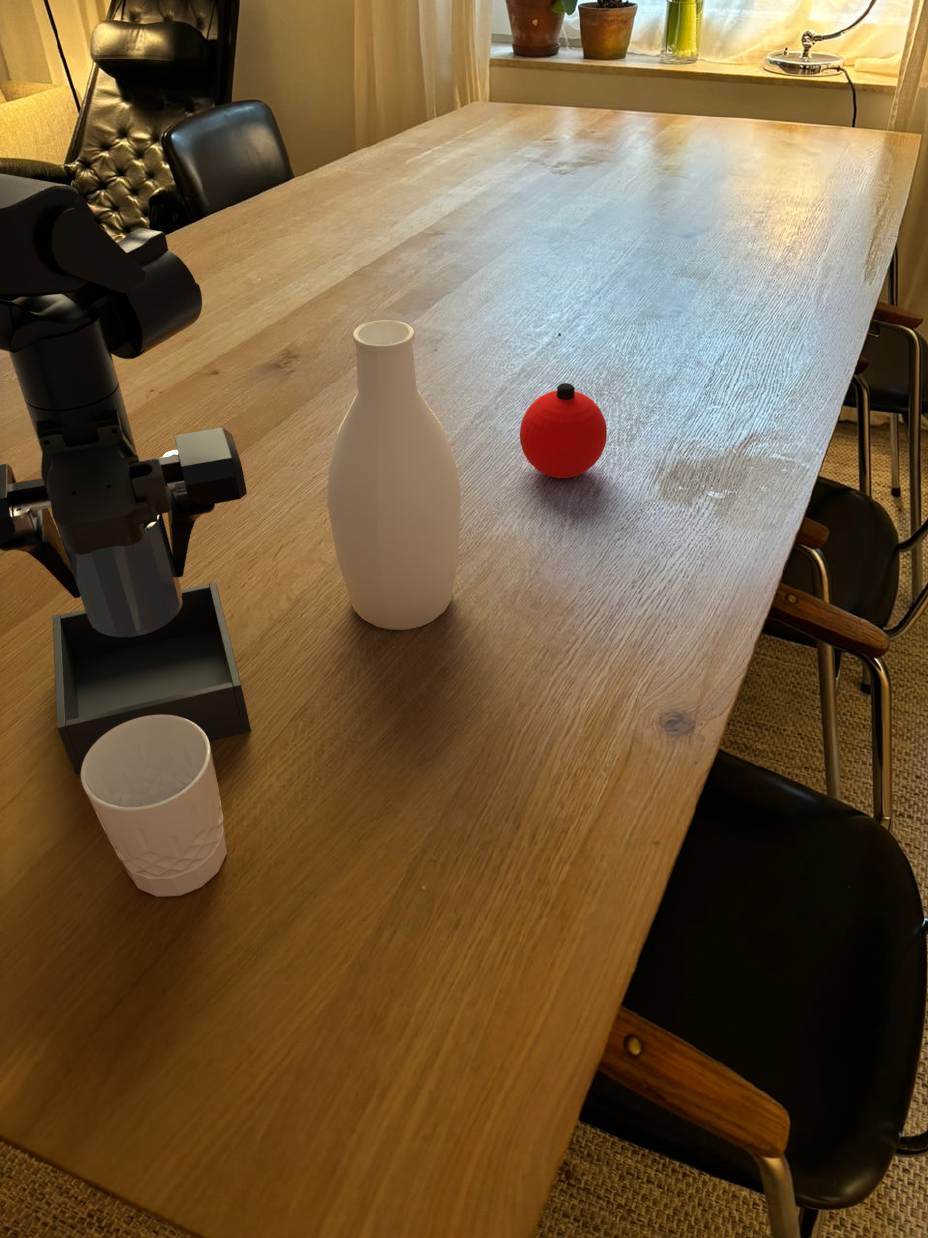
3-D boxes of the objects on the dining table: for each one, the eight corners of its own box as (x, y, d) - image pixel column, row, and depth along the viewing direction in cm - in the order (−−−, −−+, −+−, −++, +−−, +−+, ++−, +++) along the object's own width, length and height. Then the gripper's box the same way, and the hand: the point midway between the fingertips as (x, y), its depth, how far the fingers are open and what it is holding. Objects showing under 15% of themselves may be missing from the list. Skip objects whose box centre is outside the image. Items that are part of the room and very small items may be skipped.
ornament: (618, 464, 106) (626, 378, 100) (578, 504, 101) (584, 416, 94) (544, 441, 110) (548, 357, 104) (502, 478, 104) (504, 392, 98)
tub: (75, 774, 74) (56, 728, 71) (69, 661, 84) (52, 616, 80) (251, 730, 77) (241, 684, 74) (225, 626, 87) (215, 581, 84)
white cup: (171, 927, 64) (135, 831, 58) (95, 866, 68) (54, 769, 61) (259, 846, 69) (236, 749, 62) (184, 793, 73) (154, 697, 66)
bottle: (488, 600, 89) (490, 332, 73) (394, 659, 83) (373, 382, 67) (407, 547, 95) (392, 289, 79) (314, 598, 90) (276, 331, 73)
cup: (69, 627, 72) (37, 537, 67) (121, 572, 77) (95, 484, 71) (151, 645, 70) (125, 554, 65) (199, 588, 75) (178, 499, 70)
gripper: (-102, 481, 54) (-10, 687, 64) (241, 423, 59) (276, 624, 69) (-85, 391, 62) (-6, 586, 72) (214, 346, 67) (249, 536, 77)
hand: (128, 584), depth 72 cm, fingers closed on cup, 7 cm apart
